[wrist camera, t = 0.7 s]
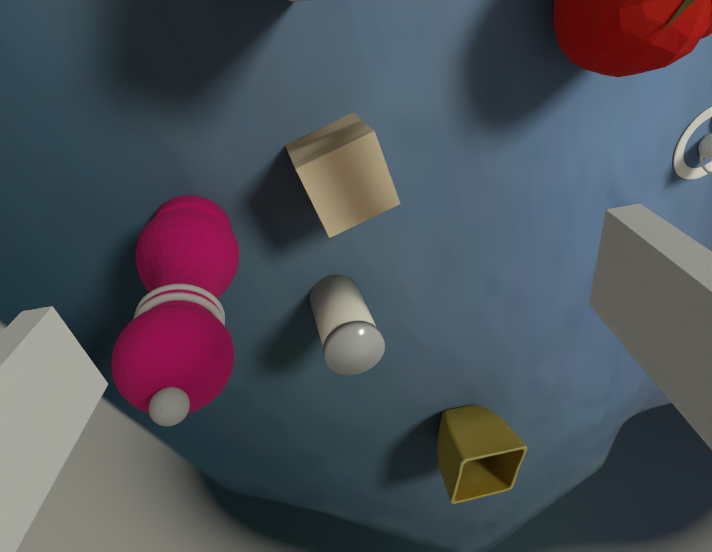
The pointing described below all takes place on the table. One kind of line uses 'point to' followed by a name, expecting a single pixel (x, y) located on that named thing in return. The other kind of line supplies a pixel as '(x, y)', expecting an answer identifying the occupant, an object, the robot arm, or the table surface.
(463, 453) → the flower pot
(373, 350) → the salt shaker
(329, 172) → the light oak block
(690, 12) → the tomato
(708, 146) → the teacup and saucer
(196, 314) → the pepper mill
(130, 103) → the table surface
